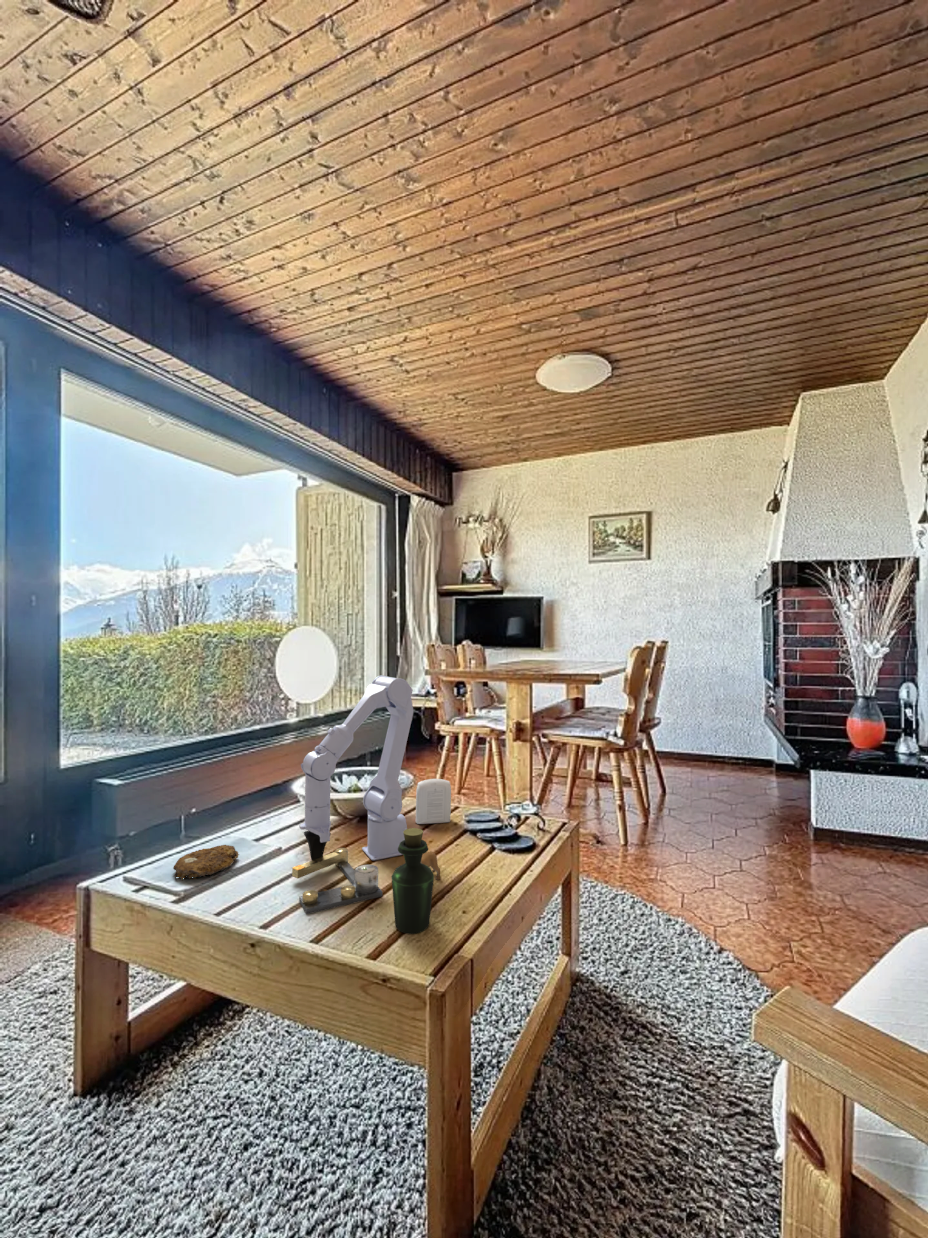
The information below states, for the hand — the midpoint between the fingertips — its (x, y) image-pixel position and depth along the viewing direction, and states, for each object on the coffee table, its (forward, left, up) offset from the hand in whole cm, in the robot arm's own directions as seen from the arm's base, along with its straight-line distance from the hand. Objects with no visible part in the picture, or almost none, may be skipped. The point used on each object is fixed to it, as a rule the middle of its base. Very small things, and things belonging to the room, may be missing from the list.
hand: (316, 862), depth 134 cm
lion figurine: (-18, +20, -2) cm, 27 cm away
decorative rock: (+22, -13, -2) cm, 26 cm away
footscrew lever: (-1, +2, -2) cm, 2 cm away
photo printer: (-38, -17, -2) cm, 42 cm away
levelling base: (-1, +10, -2) cm, 10 cm away
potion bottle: (-10, +32, -2) cm, 34 cm away
